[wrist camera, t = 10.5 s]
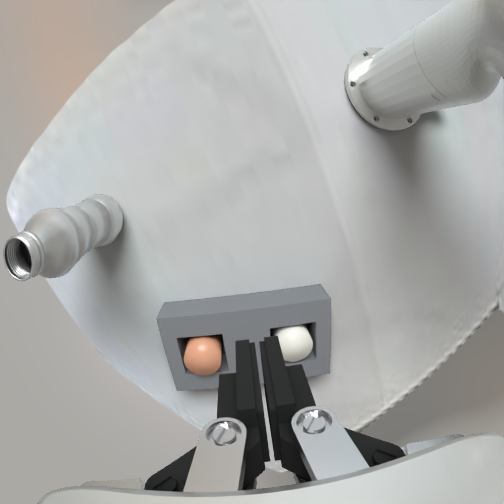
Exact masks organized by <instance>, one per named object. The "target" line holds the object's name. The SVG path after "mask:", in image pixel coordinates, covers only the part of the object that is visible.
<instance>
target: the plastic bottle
mask: <svg viewBox="0 0 504 504" xmlns="http://www.w3.org/2000/svg"><path fill="white" fill-rule="evenodd" d="M122 225H123V214H122V210H121V208H120V206H119V204H118V203H117V202H116V201H115V200H114V199H113V198H111V197H110V196H107V195H102V194H96V195H92V196H90V197H88V198H86V199H85V200H83V201H82V202H81V203H79V204H77V205H75V206H72V207H67V208H49V209H43V210H40V211H38V212H37V213H36V214H34V215H33V216H32V217H31V218H30V219H29V221H28V222H27V223H26V226H25V228H24V230H23V231H22V232H20V233H18V234H17V235H15V236H12V237H10V238H9V239H8V240H7V241H6V243H5V245H4V250H3V258H4V262H5V266H6V268H7V270H8V272H9V273H10V274H11V276H13V277H14V278H15V279H16V280H19V281H25V280H28V279H30V278H31V277H35V276H37V275H38V274H39V275H41V276H43V277H46V278H56V277H61V276H64V275H65V274H66V273H68V272H69V271H70V270H71V269H72V268H73V267H74V266H75V264H76V263H77V262H78V261H79V260H80V258H81V257H82V256H84V255H85V254H86V253H87V252H89V251H90V250H92V249H94V248H97V247H102V246H105V245H108V244H110V243H111V242H113V241H114V240H115V239H116V237H117V236H118V234H119V233H120V231H121V228H122Z"/></svg>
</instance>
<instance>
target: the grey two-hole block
mask: <svg viewBox="0 0 504 504" xmlns="http://www.w3.org/2000/svg"><path fill="white" fill-rule="evenodd" d="M157 323H158V327H159V331H160V335H161V338H162V342H163V345H164V349H165V353H166V356H167V359H168V363H169V366H170V370H171V373H172V376H173V379H174V383H175V386H176V389H177V391H184V390H202V389H217V388H218V386H219V374H226V373H236V349H235V341H237V340H246V339H249V343H251V342H255V348H256V356H257V364H258V372H259V379H260V384H264V379H263V371H262V362H261V354H260V345H259V341H264V337H270V328H277V327H284V326H291V325H298V324H305V323H308V332H309V334H310V336H311V339H312V341H313V347H312V350H311V352H310V353H309V355H308V356H307V357H305V358H304V359H302V360H299V361H295V362H289V361H285V360H284V362H285V366H291V365H298V364H302V366H303V369H304V372H305V375H306V377H312V376H317V375H323V374H328V373H330V351H331V298H330V297H329V295H328V294H327V292H326V291H325V290H324V288H323V287H322V286H321V284H318V285H311V286H304V287H297V288H289V289H282V290H274V291H266V292H258V293H250V294H241V295H233V296H224V297H215V298H205V299H196V300H186V301H176V302H165V303H164V304H163V306H162V308H161V310H160V312H159V314H158V316H157ZM217 334H222V335H223V341H224V347H225V352H222V353H221V365H220V368H219V369H218V370H217V371H216V372H215V373H213V374H210V375H198V374H195V373H193V372H191V371H190V370H189V369H188V368H187V367H186V365H185V363H184V355H185V351H186V346H187V340H186V337H195V336H206V335H217Z"/></svg>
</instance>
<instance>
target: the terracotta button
mask: <svg viewBox="0 0 504 504" xmlns="http://www.w3.org/2000/svg"><path fill="white" fill-rule="evenodd" d="M221 353H222V338H221V336H220V334H217V335H206V336H195V337H189V338H188V342H187V346H186V351H185V355H184V363H185V365H186V367H187V368H188V369H189V370H190V371H191V372H193V373H195V374H198V375H210V374H213V373H215V372H216V371H217V370H218V369H219V368H220V365H221Z"/></svg>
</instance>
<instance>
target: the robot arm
mask: <svg viewBox="0 0 504 504" xmlns="http://www.w3.org/2000/svg"><path fill="white" fill-rule="evenodd" d="M501 76H502V78H503V79H504V0H452V1H451V2H450V3H448V4H447V5H445V6H444V7H443V8H441V9H440V10H438V11H437V12H436V13H434V14H433V15H431V16H430V17H428V18H427V19H425V20H424V21H422V22H421V23H419V24H418V25H416V26H415V27H413V28H412V29H410V30H409V31H407V32H406V33H404V34H403V35H401V36H400V37H398V38H397V39H395V40H394V41H393V42H391V43H390V44H388V45H387V46H386V47H384V48H383V47H370V48H366V49H363V50H361V51H360V52H358V53H357V54H356V55H355V56H354V57H353V58H352V59H351V60H350V62H349V64H348V65H347V69H346V72H345V86H346V90H347V94H348V97H349V99H350V101H351V103H352V105H353V106H354V108H355V109H356V111H357V112H358V113H359V114H360V115H361V116H362V117H363V118H364V119H365V120H366V121H368V122H369V123H370V124H372V125H374V126H376V127H378V128H381V129H384V130H390V131H395V130H402V129H406V128H408V127H410V126H412V125H413V124H414V123H416V122H417V120H418V119H419V118H420V116H421V114H423V113H427V112H432V111H436V110H441V109H446V108H451V107H456V106H462V105H467V104H472V103H477V102H480V101H482V100H484V99H486V98H487V97H489V96H490V95H491V94H492V93H493V91H494V90H495V88H496V87H497V85H498V83H499V80H500V78H501ZM350 84H351V85H352V86H351V85H350ZM373 118H375V121H374V119H373ZM407 120H408V121H407ZM259 345H260V354H261V362H262V371H263V379H264V388H265V396H266V403H267V410H268V417H269V423H270V430H271V437H272V444H273V450H274V457H275V461H276V460H281V464H282V467H283V468H285V469H287V470H289V471H291V472H293V474H294V478H295V481H296V483H297V484H293V485H287V486H280V487H272V488H263V489H256V484H257V481H256V478H257V477H258V476H259V475H260V474H261V473H262V472H263V471H264V470H265V463H264V462H268V461H270V456H269V448H268V441H267V433H266V426H265V418H264V410H263V402H262V395H261V387H260V379H259V372H258V364H257V356H256V348H255V342H251V343H249V339H246V340H237V341H235V349H236V373H226V374H219V386H218V407H217V419H215V420H212V421H211V422H209V423H207V424H206V425H205V426H204V427H203V429H202V431H201V434H200V438H199V441H198V444H197V446H196V447H195V448H193V449H192V450H190V451H189V452H187V453H186V454H184V455H183V456H181V457H180V458H178V459H177V460H176V461H174V462H172V463H171V464H170V465H168V466H166V467H165V468H164V469H162V470H160V471H158V472H157V473H155V474H154V475H152V476H151V477H150V478H149V479H148V480H144V481H142V480H141V479H140V478H137V479H126V480H111V481H91V482H86V483H84V484H83V485H81V486H74V487H66V488H60V489H57V490H53V491H51V492H49V493H47V494H46V495H44V496H43V497H42V498H41V499H40V500H39V502H38V503H37V504H504V435H502V434H497V433H480V434H472V435H467V436H463V435H459V434H458V435H457V434H456V435H450V436H445V437H441V438H436V439H431V440H426V441H420V442H415V443H409V444H406V446H405V447H399V446H397V445H394V444H391V443H389V442H385V441H382V440H379V439H375V438H373V437H370V436H366V435H364V434H361V433H358V432H355V431H352V430H349V429H347V428H344V427H343V426H342V424H341V423H340V421H339V420H338V418H337V416H336V415H335V414H334V413H333V412H332V411H331V410H329V409H327V408H325V407H321V406H316V404H315V401H314V398H313V395H312V393H311V390H310V387H309V384H308V381H307V378H306V375H305V372H304V369H303V366H302V364H298V365H291V366H285V362H284V358H283V354H282V350H281V346H280V343H279V339H278V336H270V337H264V341H259Z"/></svg>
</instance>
